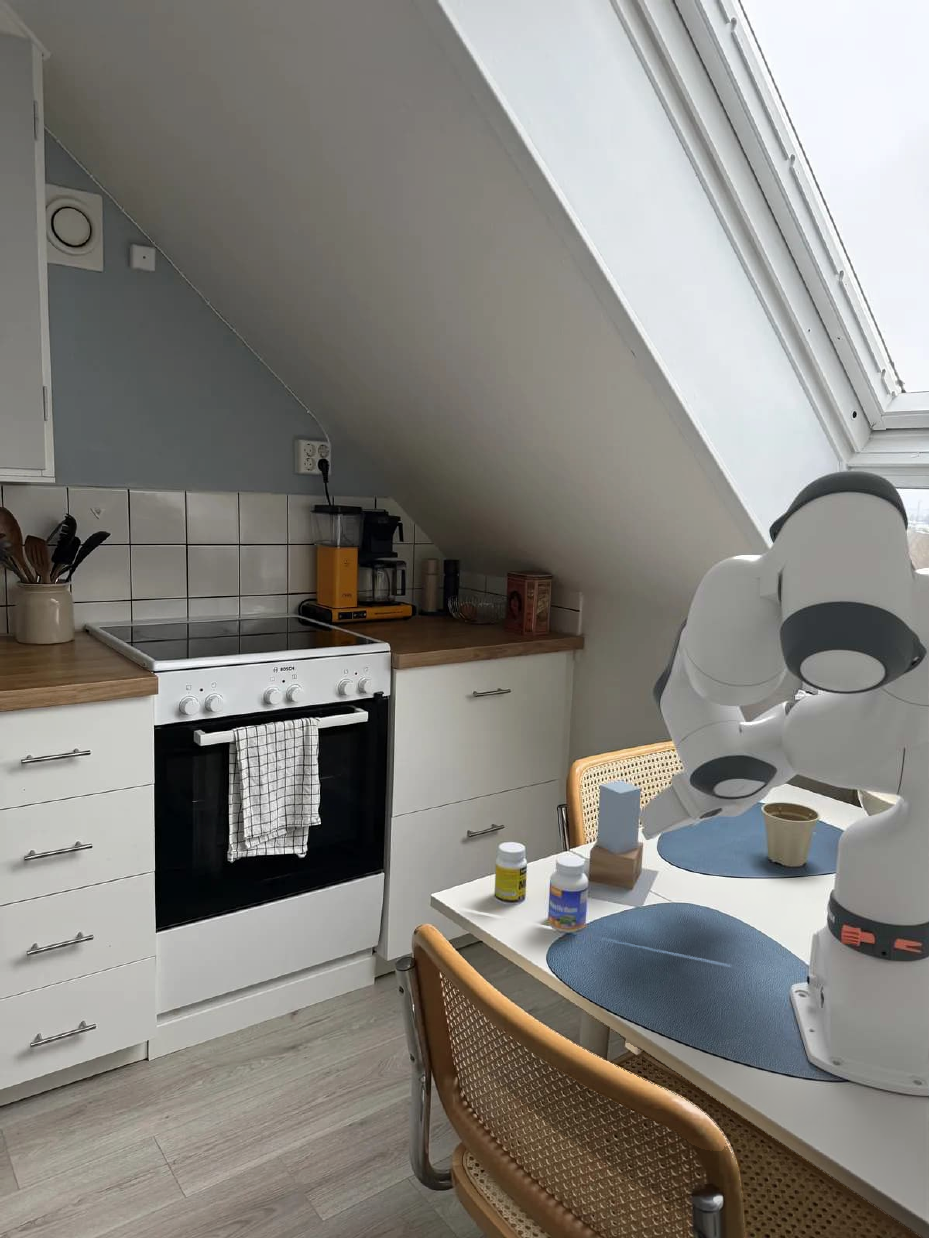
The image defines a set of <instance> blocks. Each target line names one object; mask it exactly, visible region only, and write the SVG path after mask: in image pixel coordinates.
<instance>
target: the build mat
mask: <svg viewBox="0 0 929 1238" xmlns="http://www.w3.org/2000/svg"><path fill="white" fill-rule="evenodd" d="M589 863H590V857H588V858H587V857H586V858H585V860H584V872H583V873H584V874H585V875H586V877H587V878H588V894H587V898H588V899H589V898H590V899H595V900H600V901H605V902H609V903H614V904H615V903H616V904H618V905H619V904H620V905H625V906H629V907H633V908H640V909H643V906H644V904H645V902H646V899H647V898H648V895H649V893H650V891H651V889H652V886H653V884H654V883H655V880H656V878H657V876H658V874H659V870H656V869H655V870H654V869H648V868H644V867H642V872H641V874H640V876H639V878H638V880H637V882H636V884H635V886H634V888H633V889H628V888H622V887H617V886H612V885H607V884H601V883H596V882H591V881H589Z"/></svg>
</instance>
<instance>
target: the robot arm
mask: <svg viewBox="0 0 929 1238" xmlns="http://www.w3.org/2000/svg"><path fill="white" fill-rule="evenodd" d="M901 497H902V496H901V495H900V494H899V492H898V490H897V489H896V487H895V486H894V485H893V484H892V483H891V482H890V481H889V480H887V478H885V477H883V476H881V475H879V474H876V473H873V472H870V471H864V470H852V469H851V470H839V471H835V472H831V473H828V474H825V475H822V476H820V477H818V478H817V479H814V480H813V481H812V482H810V483H808V484H807V485H806V486H805V487H804V488H803V489H801V491H800V492H799V493H798V494H797V495H796V497H795V499H793V501H792V502H791V504H790V506H788V509H787V510H786V512H785V513H783V514H782V515H781V516H780V517H778V518H777V519H776V520H774V521H773V522H772V524H771V525H770V527H769V530H768V532H769V538H770V539H771V542H772V543H773V544H772V545H771V547H770V548H769V549H768V550H766V552H765V553H762V554H759V555H750V554H748V555H747V554H746V555H745V554H744V555H736V556H732V557H728V558H725V559H723V560H721V561H719V562H718V563H716V564H715V565H713V566H712V567H711V568H710V569H709V570H708V571H707V572H706V573H705V575H704V576H703V578H702V579H701V581H700V583H699V585H698V586H697V587H698V588H697V589H696V592H695V594H694V597H693V599H692V601H691V604H690V608H689V611H688V616H687V617H686V618H685V619H684V620H683V621H682V623H681V625H680V626H679V629H678V630H677V633H676V636H675V638H674V642H673V645H672V651H671V654H670V658H669V661H668V663H667V665H666V667H665V669H664V670H662V672H661V674H660V675H659V677H658V678H657V680H656V681H655V684H654V687H653V690H652V697H653V700H654V701H655V704H656V705H657V708H658V710H659V712H660V715H662V718H663V720H664V723H665V725H666V728H667V730H668V732H669V736H670V737H671V740H672V743H673V745H674V748H675V750H676V753H677V754H678V757H679V760H680V763H681V765H682V768H683V770H681V771H678V773H676V774H674V775H673V776H672V777H671V778H670V779H669V781H670V784H669V785H668V786H667V787H665V788H663V789H662V790H661V791H660V792H659V793H657V794H656V795H655V796H654V797H652V799H651V800H650V801H649V802H648V803H647V804H646V805H644V807H643V808H641V809H640V813H639V822H640V823H641V825H642V827H643V828H642V829H641V834H642V835H643V837H644V839H645V840H646V841H649V840H653V839H655V838H656V837H658V836H659V835H662V834H665V833H669V832H671V831H674V830H675V831H676V830H679V829H681V828H685V827H687V826H688V827H694V826H697V825H698V824H700V823H701V822H702V821H704V822H705V821H706V820H709V819H714V818H717V817H727V818H728V817H729V818H737V817H739V816H742V814H744V813H746V812H747V811H748V810H750V809H751V808H752V807H754V806H755V805H757V804H758V803H759V802H760V801H762V800H764V799H765V798H766V797H767V795H768V794H770V791H771V790H773V788H774V789H775V788H777V787H780V786H782V785H784V784H786V783H788V781H790V780H791V779H793V778H794V777H795V776H797V775H799V776H801V777H804V778H807V779H811V780H813V781H816V782H819V783H822V784H826V785H828V786H829V785H830V786H833V787H836V788H841V789H842V788H843V789H849V790H857V791H864V792H873V793H878V794H879V793H880V794H887V795H893V796H895V795H896V796H898V797H900V798H899V799H898V800H897V802H896V803H895V804H893V806H891V807H890V808H888V809H887V810H885V811H883V812H880V813H877V814H873V815H869V816H866V817H863V818H860V819H859V820H857V821H855V822H853V823H851V824H850V825H849V826H847V828H846V829H845V830H844V831H843V832H842V833H841V836H840V837H839V840H838V847H837V855H836V856H837V857H836V865H835V866H836V867H835V874H834V875H835V878H834V887H833V889H832V890H831V892H830V894H829V899H828V902H827V908H826V910H827V917H826V925H825V926H824V927H823V928H821V929H819V930H818V931H816V932H814V933H813V935H812V941H811V946H810V947H811V949H810V958H809V965H808V971H807V972H808V975H807V976H806V982H799V983H794V984H792V985H791V986H790V991H789V996H790V997H789V998H790V1000H791V1004H792V1008H793V1012H794V1015H795V1019H796V1021H797V1025H798V1028H799V1032H800V1035H801V1039H802V1042H803V1046H804V1048H805V1054H806V1056H807V1059H808V1061H809V1062H810V1063H812V1064H813V1065H814V1066H816V1067H817V1068H820V1069H822V1070H824V1071H825V1072H828V1073H830V1074H832V1075H834V1076H836V1077H839V1078H843V1079H845V1080H848V1081H850V1082H854V1083H858V1084H861V1085H864V1086H868V1087H872V1088H874V1089H880V1090H884V1091H889V1092H893V1093H899V1094H904V1095H910V1096H911V1095H912V1096H921V1097H926V1096H927V1097H928V1096H929V567H926V568H920V569H916V570H915V569H912V568H911V555H910V547H909V546H910V545H909V539H908V534H907V533H908V532H907V531H908V528H909V520H908V519H909V518H908V515H907V512H906V507H905V505H904V502H903V500H902V498H901ZM788 671H789V672H790V673H791V674H792V675H793V676H795V677H796V678H797V679H799V680H800V681H802V683H803V682H804V684H806V685H808V686H809V687H811V688H813V689H816V690H819V691H823V692H822V693H818V694H813V695H808V696H804V697H802V698H801V699H800V700H798V701H797V702H794V701H791V700H787V701H783V702H781V703H779V704H776V705H775V706H773V707H771V708H770V709H768V710H767V711H765V712H763V713H762V714H761V715H759V716H757V717H756V718H754V719H753V720H751V721H749V722H748V721H746V719H745V717H744V713H742V710H741V707H744V706H749V705H753V704H757V703H759V702H761V701H763V700H765V699H766V698H768V697H770V696H771V695H772V694H773V693H774V692H775V691H776V690H777V689H778V688H779V686H780V685H781V683H782V682H783V680H784V679H785V676H786V674H787V672H788Z"/></svg>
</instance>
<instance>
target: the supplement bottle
mask: <svg viewBox="0 0 929 1238" xmlns="http://www.w3.org/2000/svg"><path fill="white" fill-rule="evenodd" d="M497 854H498V856H497V858H496V859H495V875H494V876H495V878H494V896H493V898H494V899H495V901H496V902H498V903H500V904H503V905H507V906H509V905H519V904H522V903H523V902H525V900H526V895H527V894H526V893H527V875H528V872H527V869H528V861H527V859H526V846H524V844H522V843H519V842H515V841H514V842H513V841H510V842H509V841H506V842H503V843H500V844H499V846H498V851H497Z"/></svg>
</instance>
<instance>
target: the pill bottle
mask: <svg viewBox="0 0 929 1238" xmlns="http://www.w3.org/2000/svg"><path fill="white" fill-rule="evenodd" d="M584 861H585V860H584V859H583V858H581V857H579V856H575V855H571V854H569V855H568V854H567V855H565V854H564V855H561V856H558V857H557V858H556V860H555V871H553V872H552V873H551V875H550V878H549V892H548V893H549V894H548V895H549V896H548V908H547V909H548V911H547V913H548V914H547V923H548V925H549V927H550V928H552V929H553V930H555V931H557V932H561V933H564V934H565V933H567V934H572V933H574V934H575V933H578V931H580V930H582V929H584V927H585V926H586V923H587V922H586V921H587V909H588V897H587V894H588V878H587V877H586V875H585V874H584V873H583V872H584Z"/></svg>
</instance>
